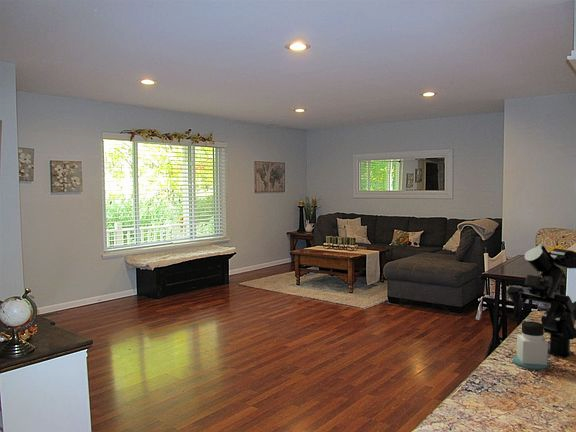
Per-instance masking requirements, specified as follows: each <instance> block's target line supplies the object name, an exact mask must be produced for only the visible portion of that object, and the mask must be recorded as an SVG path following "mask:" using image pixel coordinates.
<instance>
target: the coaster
mask: <svg viewBox="0 0 576 432" xmlns="http://www.w3.org/2000/svg"><path fill="white" fill-rule="evenodd" d="M512 363H513V364H514V365H516V366H518V367H520V368H524V369H527V370H528V369H529V370H534V371H535V370H537V371H538V370H546V369H548V368H549V367H550V365H549V362H548V364H547V365H536V364H523V363H522V362H521V361H520V359H519V358H518V357H517V355H515V356H513V357H512Z"/></svg>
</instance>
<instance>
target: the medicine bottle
mask: <svg viewBox="0 0 576 432" xmlns="http://www.w3.org/2000/svg"><path fill="white" fill-rule="evenodd" d="M544 334H545V332H544V326H543V325H542V322H541V323H540V322H538V321H535V320H534V321H533V320H526V321H522V323H521V334H516V356H517V357H518V358H519V359H520V361H521V362H522V363H523V364H536V365H547V364H548V363H549V361H548V359H549V353H548V349H549V342H548V341H547V340H546V339H545V338H544Z"/></svg>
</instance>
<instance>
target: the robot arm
mask: <svg viewBox="0 0 576 432" xmlns="http://www.w3.org/2000/svg"><path fill="white" fill-rule="evenodd" d="M524 259H525V260H526V261H527V263H528V264H529V265H530V266H531V267H532V268H533V270H534V271H536V272H537V273H539V275H532V274H527V275H526V277H525V281H524V285H525V286H527V287H528V288H527V289H528V291H529V292H530V293H529V292H525V291H524V289H523V287H518V286H514V285H511V286H509V287H507V291H506V293H507V295H508V297H509V298H510V300H511V302H512V303H513V318H514V319H515V320H516V319H517V318H518V317H519V315H520V313H522V311H523V309H524V307H525V303H526V301H527V300H529V301H534V302H538V303H543V304H547V305H550V307H549V308H548V309H545V312H544V313H542V316H541V318H540V319H541V320H540V321H541V324H542V325H543V326H544V333H547V334H549V348H548V355H553V356H557V357H560V358H564V359H565V358H569V357H570V356H573V355H574V354H575V352H574V351H571V350H570V349H571V340H572V341H573V340H574V339H576V327H575V324H576V300H575V301H574V302H573V301H572V299H571V297H570V295H565V294H560V293H559V294H558V293H557V291H558V288H557V287H558V284H559V282H560V279H562V280H564V279H567V275H566V274H565V270H564V269H561V268H566V269H576V251H574V250H570V249H565V248H558V247H557V248H553V249H552V250H551V251H549V252H548V250H547V249H546V247H545V246H544V245H542V244H541V245H540V244H537V246H535V247H533V248H531V249H529V250H527V251H526V252H525V254H524ZM554 293H555V294H554ZM553 295H554V296H553Z"/></svg>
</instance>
